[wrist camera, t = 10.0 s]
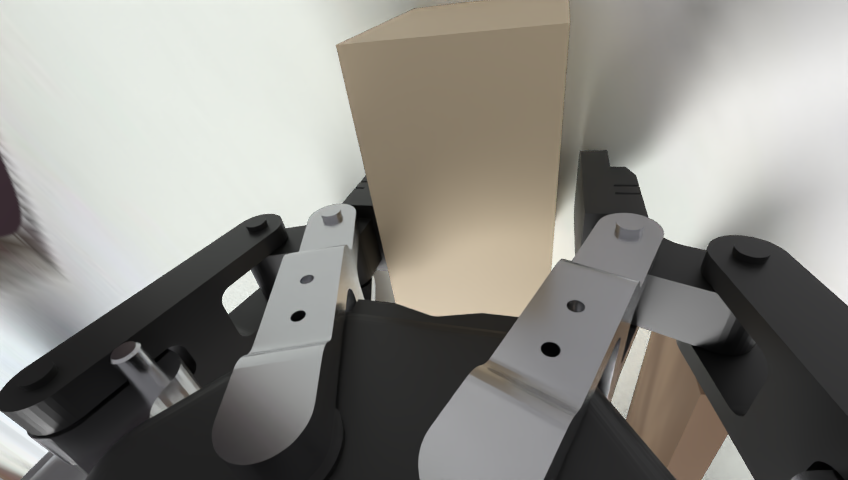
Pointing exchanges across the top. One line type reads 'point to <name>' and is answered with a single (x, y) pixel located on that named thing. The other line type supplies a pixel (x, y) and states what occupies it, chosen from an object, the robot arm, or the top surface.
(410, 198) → the block
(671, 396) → the shelf bay
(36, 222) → the top surface
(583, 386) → the robot arm
